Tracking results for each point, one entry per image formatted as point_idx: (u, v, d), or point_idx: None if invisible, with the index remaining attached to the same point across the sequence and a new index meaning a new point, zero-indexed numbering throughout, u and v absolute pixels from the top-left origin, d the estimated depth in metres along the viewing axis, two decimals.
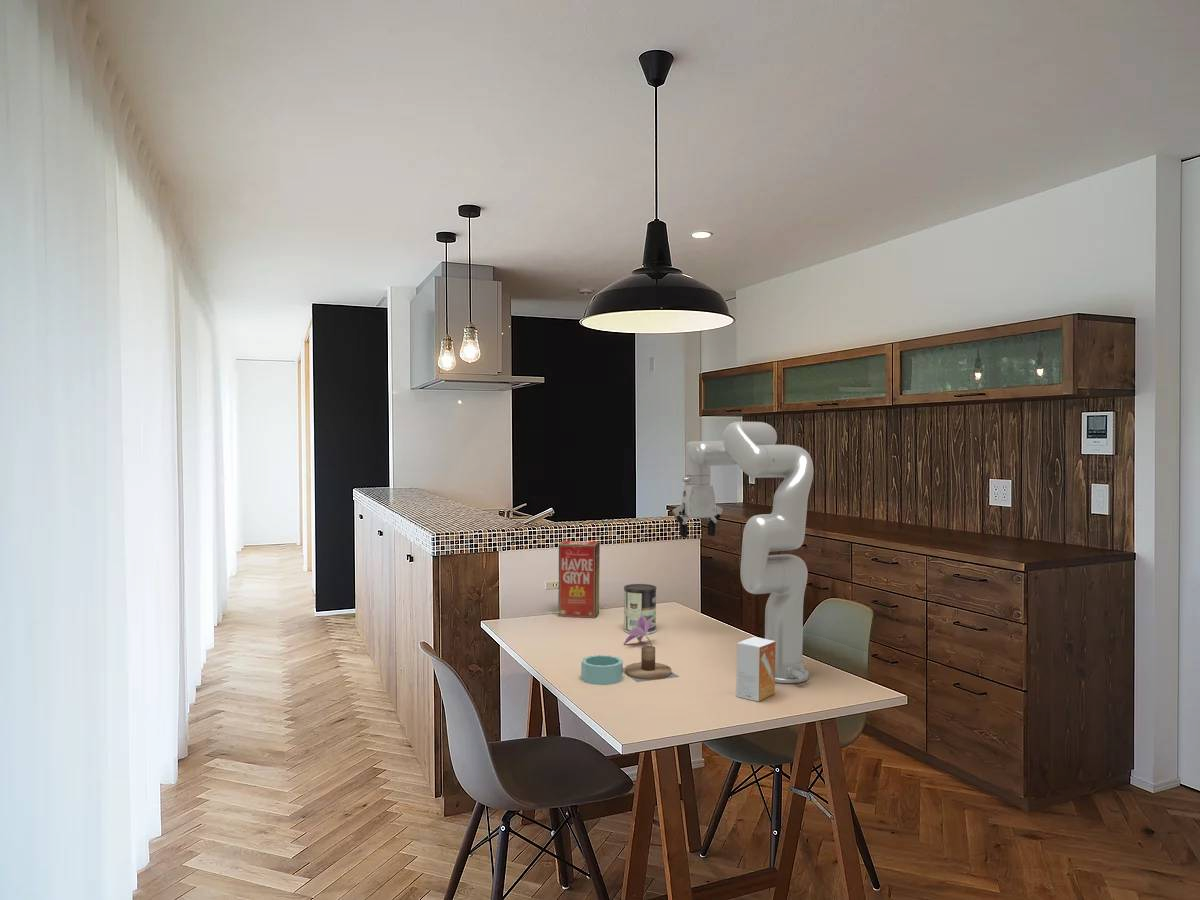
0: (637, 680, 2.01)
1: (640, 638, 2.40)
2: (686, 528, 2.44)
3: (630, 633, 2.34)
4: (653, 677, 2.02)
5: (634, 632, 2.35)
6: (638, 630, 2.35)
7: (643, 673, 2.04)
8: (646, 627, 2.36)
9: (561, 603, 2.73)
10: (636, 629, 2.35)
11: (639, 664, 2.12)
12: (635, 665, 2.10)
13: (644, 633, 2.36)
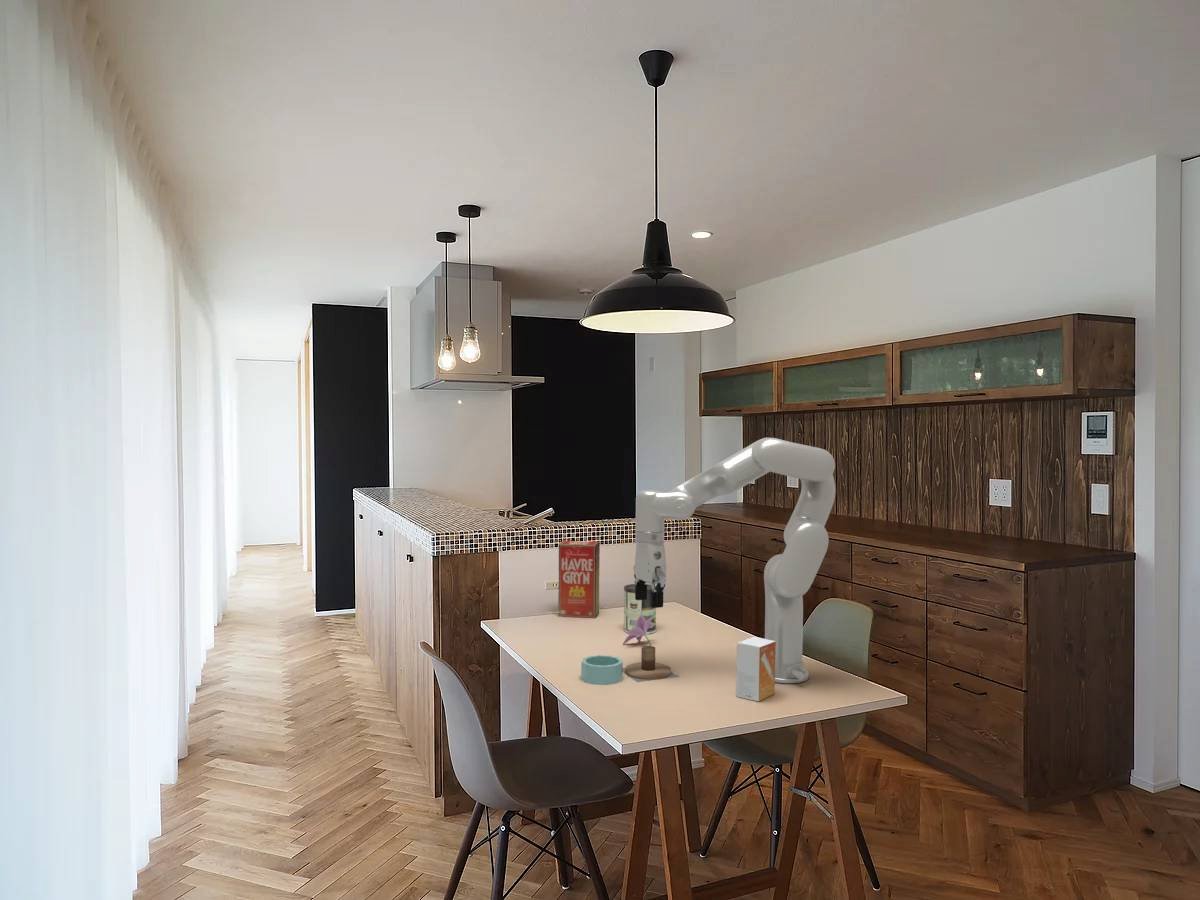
0: (637, 680, 2.01)
1: (639, 638, 2.40)
2: None
3: (629, 633, 2.34)
4: (653, 677, 2.02)
5: (633, 632, 2.35)
6: (638, 630, 2.35)
7: (643, 673, 2.04)
8: (645, 627, 2.36)
9: (561, 603, 2.73)
10: (635, 629, 2.35)
11: (639, 664, 2.12)
12: (635, 665, 2.10)
13: (643, 633, 2.36)
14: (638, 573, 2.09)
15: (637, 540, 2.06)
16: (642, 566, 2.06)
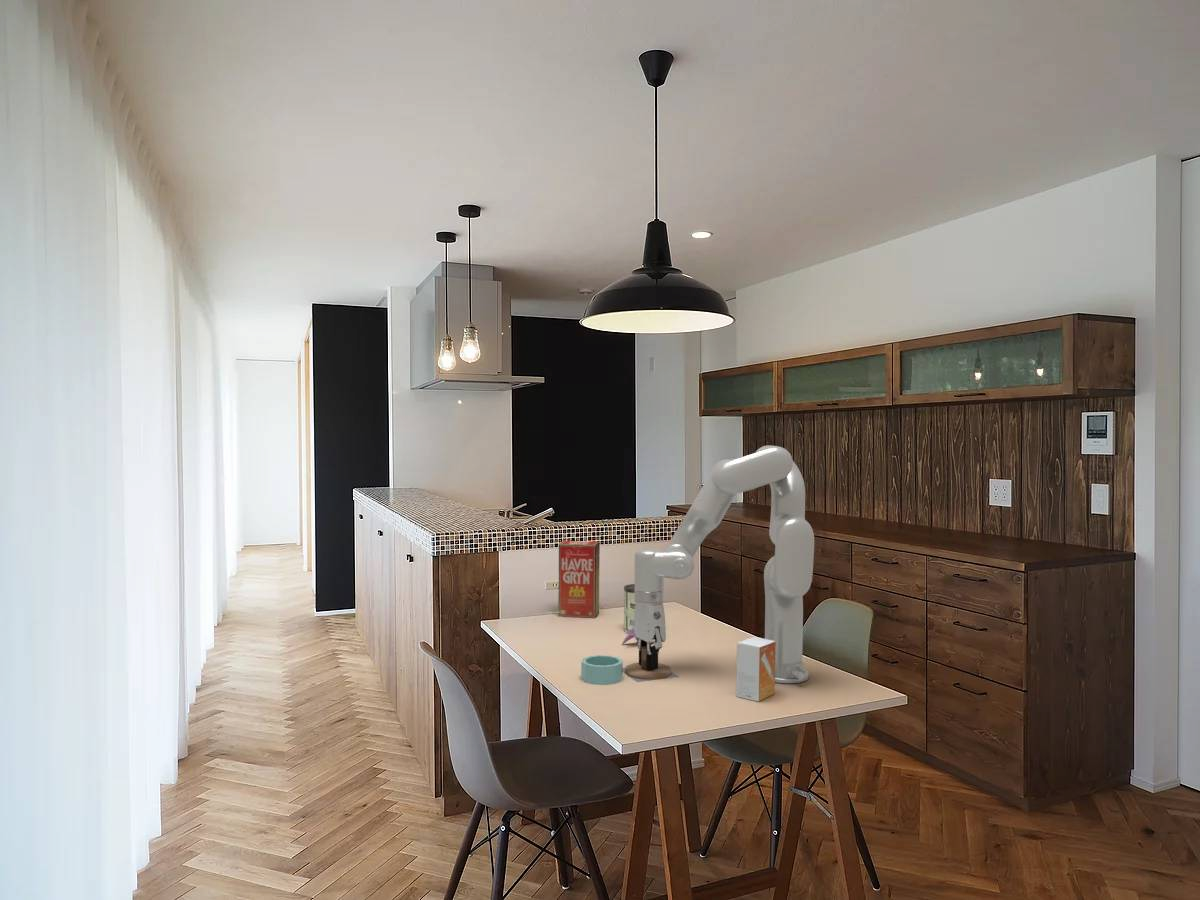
0: (637, 680, 2.01)
1: None
2: None
3: (628, 633, 2.34)
4: (653, 677, 2.02)
5: (632, 632, 2.35)
6: None
7: (643, 673, 2.04)
8: None
9: (561, 603, 2.73)
10: None
11: None
12: (635, 665, 2.10)
13: None
14: (637, 632, 2.09)
15: (636, 599, 2.06)
16: (641, 625, 2.06)
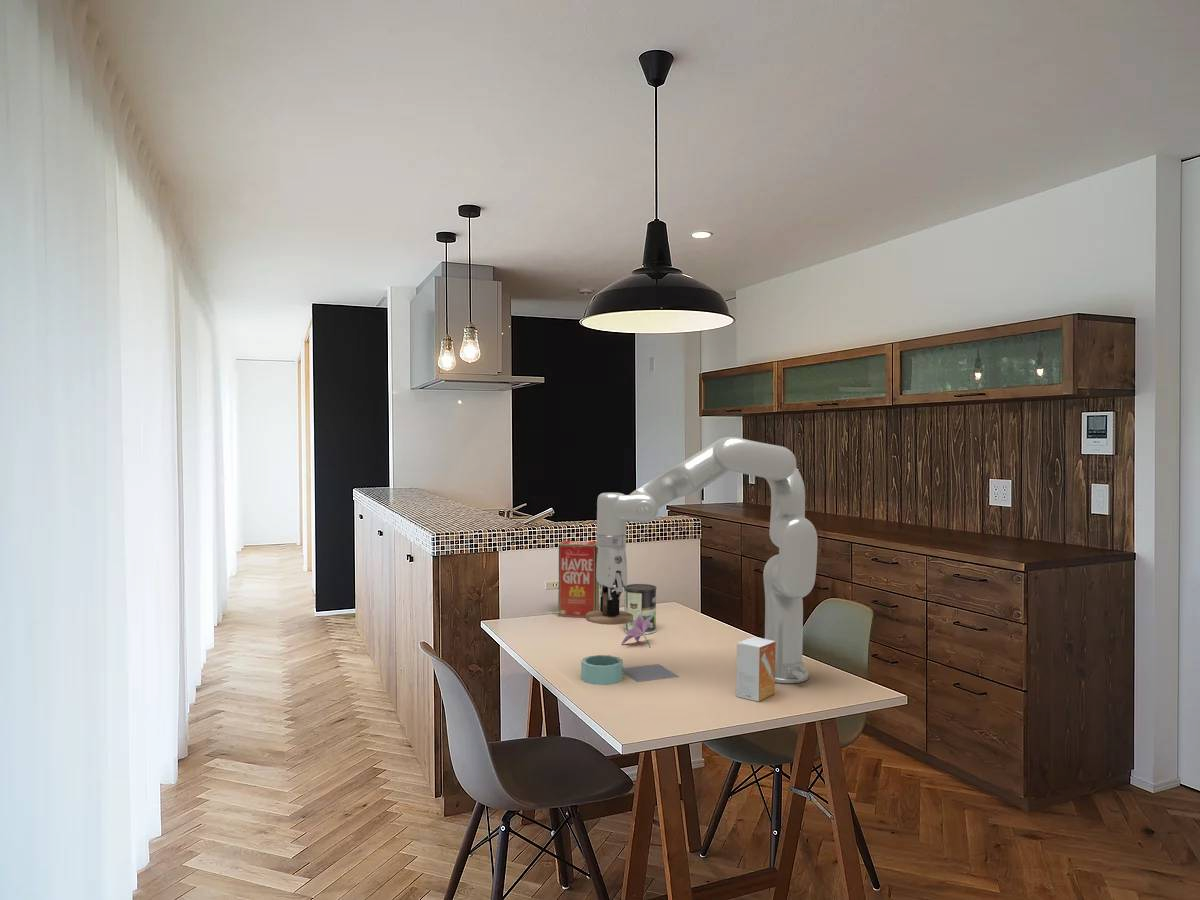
0: (637, 680, 2.01)
1: (638, 638, 2.40)
2: None
3: (628, 633, 2.34)
4: (613, 622, 1.97)
5: (631, 632, 2.35)
6: (636, 630, 2.35)
7: (603, 618, 1.99)
8: (644, 627, 2.36)
9: (561, 603, 2.73)
10: (634, 629, 2.35)
11: None
12: (597, 612, 2.06)
13: (642, 633, 2.36)
14: (599, 577, 2.04)
15: (598, 544, 2.01)
16: (603, 570, 2.01)
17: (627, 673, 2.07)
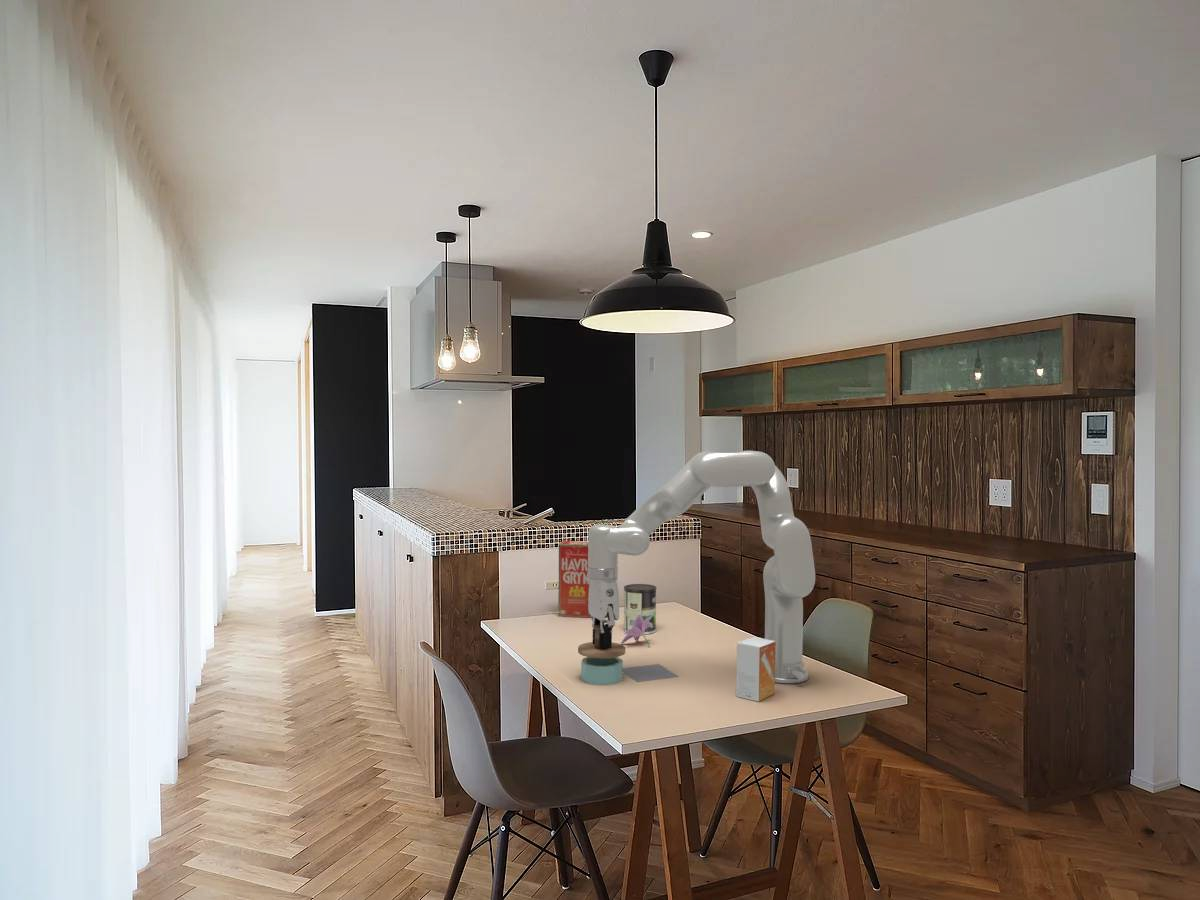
0: (637, 680, 2.01)
1: (637, 638, 2.40)
2: None
3: (627, 633, 2.34)
4: (605, 656, 1.97)
5: (631, 632, 2.35)
6: (636, 630, 2.35)
7: (595, 652, 1.98)
8: (643, 627, 2.36)
9: (561, 603, 2.73)
10: (633, 629, 2.35)
11: None
12: (589, 644, 2.05)
13: (641, 633, 2.36)
14: (591, 610, 2.04)
15: (589, 577, 2.00)
16: (595, 603, 2.01)
17: (627, 673, 2.07)
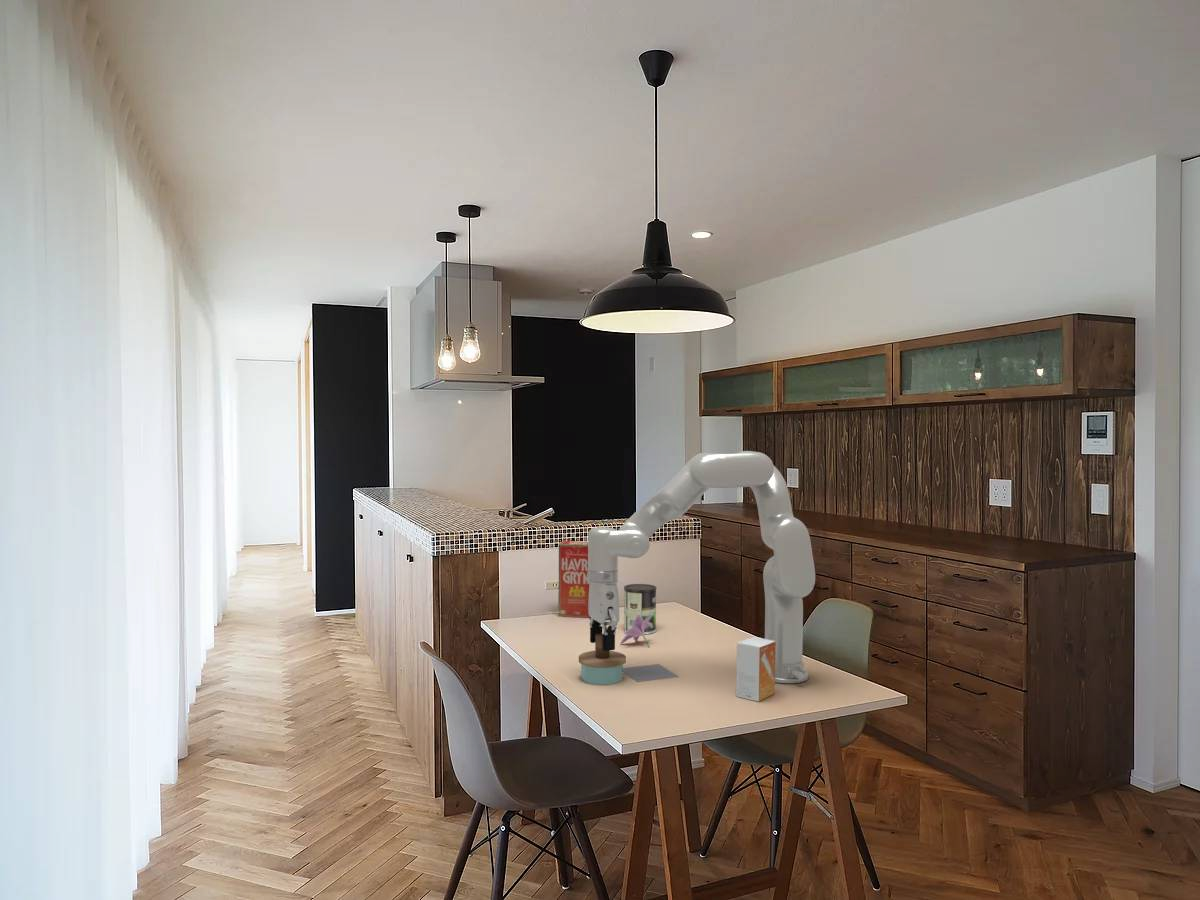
0: (637, 680, 2.01)
1: (636, 638, 2.40)
2: None
3: (627, 633, 2.34)
4: (606, 665, 1.97)
5: (630, 632, 2.35)
6: (635, 630, 2.35)
7: (596, 661, 1.99)
8: (643, 627, 2.36)
9: (561, 603, 2.73)
10: (633, 629, 2.35)
11: (594, 652, 2.06)
12: (590, 654, 2.05)
13: (641, 633, 2.36)
14: (591, 613, 2.04)
15: (589, 579, 2.00)
16: (595, 606, 2.01)
17: (627, 673, 2.07)
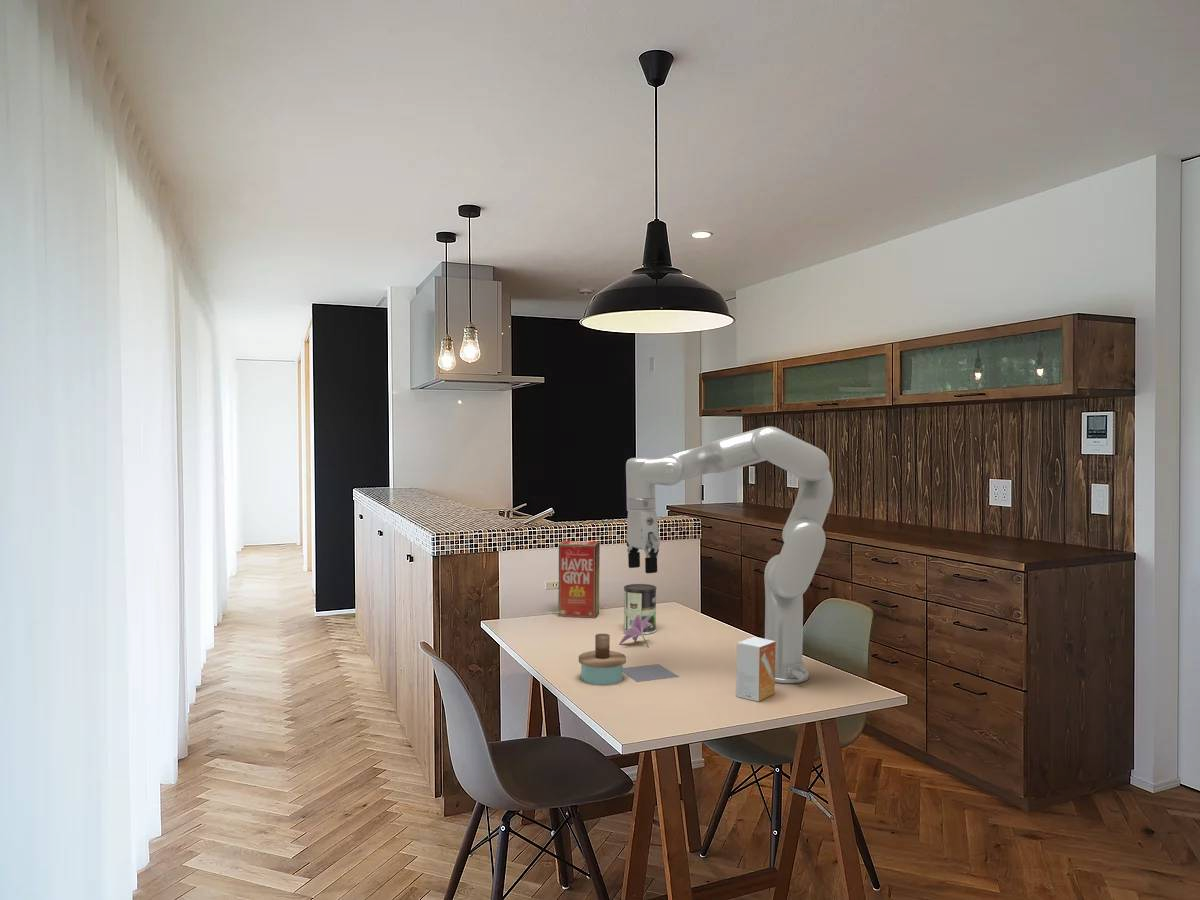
0: (637, 680, 2.01)
1: (635, 638, 2.40)
2: None
3: (626, 633, 2.34)
4: (606, 665, 1.97)
5: (630, 631, 2.35)
6: (634, 630, 2.35)
7: (596, 661, 1.99)
8: (642, 627, 2.36)
9: (561, 603, 2.73)
10: (632, 629, 2.35)
11: (594, 652, 2.06)
12: (590, 654, 2.05)
13: (640, 633, 2.36)
14: (630, 541, 2.11)
15: (629, 507, 2.07)
16: (635, 533, 2.07)
17: (627, 673, 2.07)
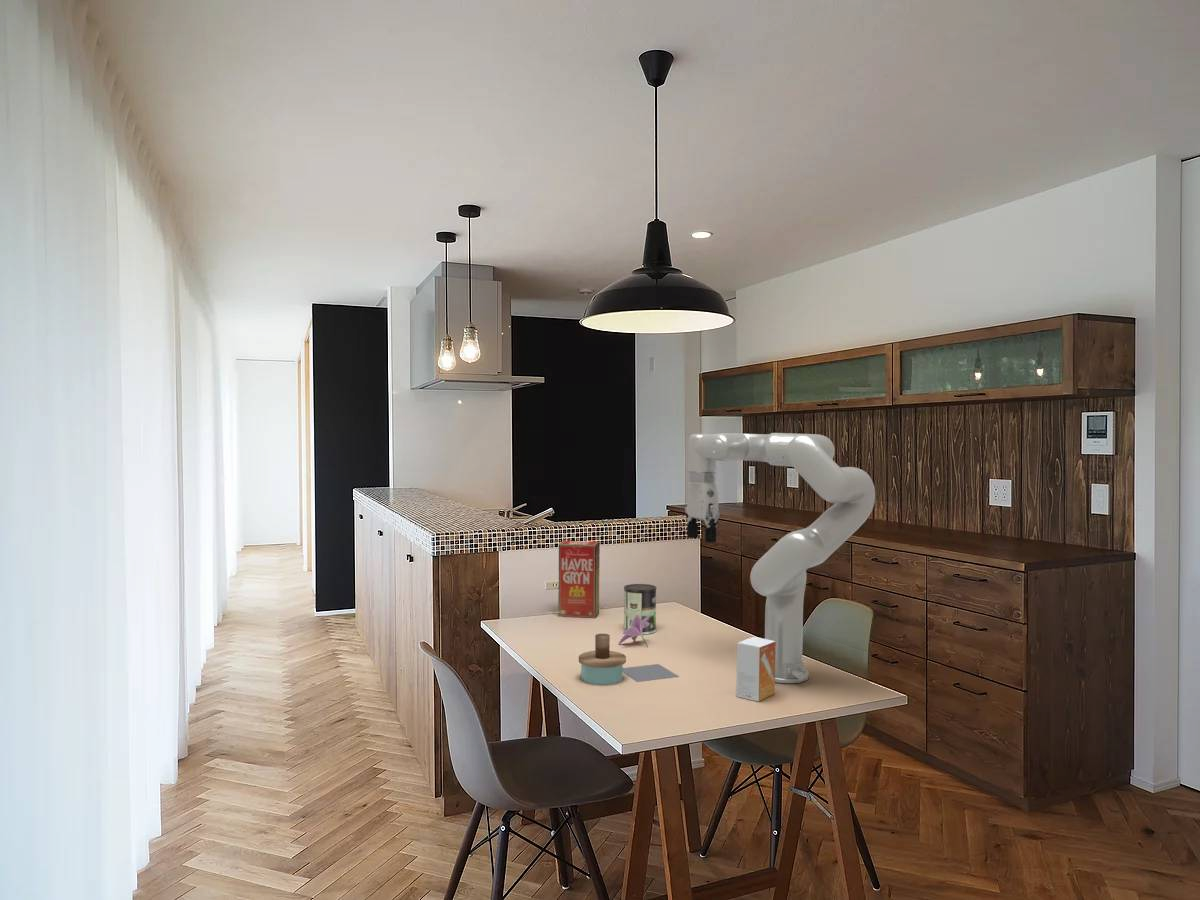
0: (637, 680, 2.01)
1: (634, 638, 2.41)
2: None
3: (625, 633, 2.34)
4: (606, 665, 1.97)
5: (629, 631, 2.35)
6: (633, 629, 2.35)
7: (596, 661, 1.99)
8: (641, 627, 2.36)
9: (561, 603, 2.73)
10: (631, 629, 2.35)
11: (594, 652, 2.06)
12: (590, 654, 2.05)
13: (639, 633, 2.36)
14: (690, 512, 2.23)
15: (691, 480, 2.20)
16: (695, 504, 2.20)
17: (627, 673, 2.07)
